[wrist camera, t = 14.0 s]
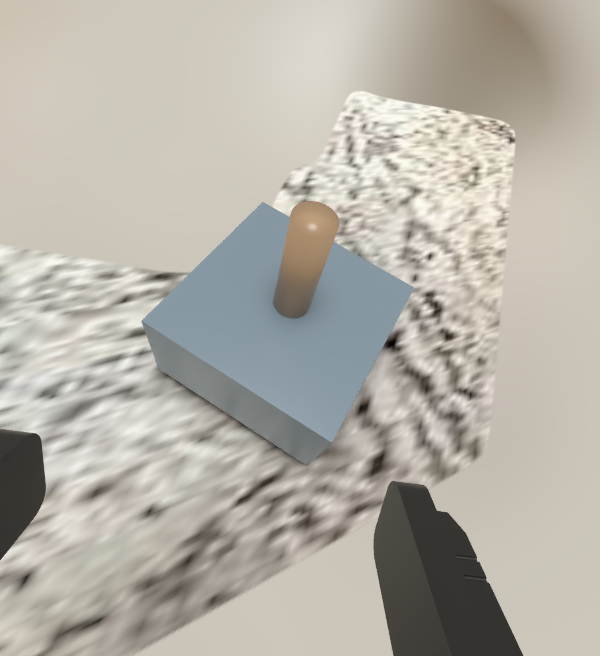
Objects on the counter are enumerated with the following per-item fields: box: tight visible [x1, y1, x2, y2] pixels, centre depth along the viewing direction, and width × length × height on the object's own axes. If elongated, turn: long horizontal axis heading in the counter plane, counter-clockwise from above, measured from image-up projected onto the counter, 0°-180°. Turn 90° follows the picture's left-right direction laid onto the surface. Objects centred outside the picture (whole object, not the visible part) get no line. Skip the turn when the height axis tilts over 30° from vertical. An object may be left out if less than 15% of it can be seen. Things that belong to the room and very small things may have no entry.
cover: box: [142, 201, 414, 466], centre depth 27 cm, size 14×14×16 cm
